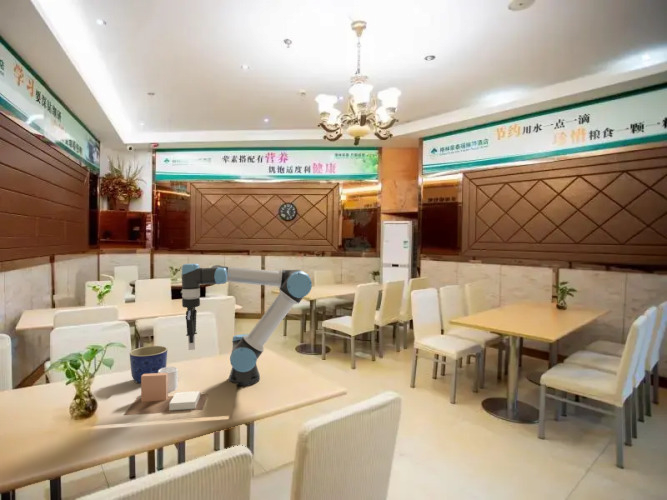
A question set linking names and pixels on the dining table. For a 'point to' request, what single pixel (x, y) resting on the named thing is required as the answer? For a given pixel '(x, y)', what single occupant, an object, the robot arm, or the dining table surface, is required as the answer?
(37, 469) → the dining table surface
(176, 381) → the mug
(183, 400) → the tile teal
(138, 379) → the planter
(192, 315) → the robot arm
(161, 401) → the board
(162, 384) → the tile plain
